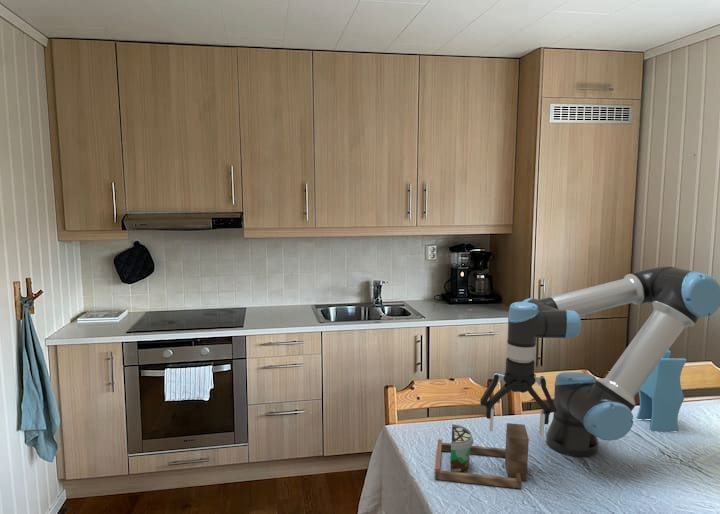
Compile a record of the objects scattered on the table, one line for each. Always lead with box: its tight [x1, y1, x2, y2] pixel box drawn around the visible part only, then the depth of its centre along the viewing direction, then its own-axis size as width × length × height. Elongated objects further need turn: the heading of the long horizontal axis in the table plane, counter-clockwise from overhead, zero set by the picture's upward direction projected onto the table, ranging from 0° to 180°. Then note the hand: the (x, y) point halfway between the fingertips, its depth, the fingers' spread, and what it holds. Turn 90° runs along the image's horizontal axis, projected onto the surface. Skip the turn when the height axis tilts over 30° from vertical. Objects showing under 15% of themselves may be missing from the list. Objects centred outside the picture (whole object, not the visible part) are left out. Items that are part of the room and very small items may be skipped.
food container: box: [450, 423, 474, 473], centre depth 147 cm, size 12×6×10 cm, turn 168°
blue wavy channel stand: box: [635, 349, 687, 432], centre depth 174 cm, size 10×10×25 cm
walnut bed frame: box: [434, 422, 530, 489], centre depth 146 cm, size 25×17×12 cm
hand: (516, 432), depth 143 cm, fingers open, 13 cm apart
